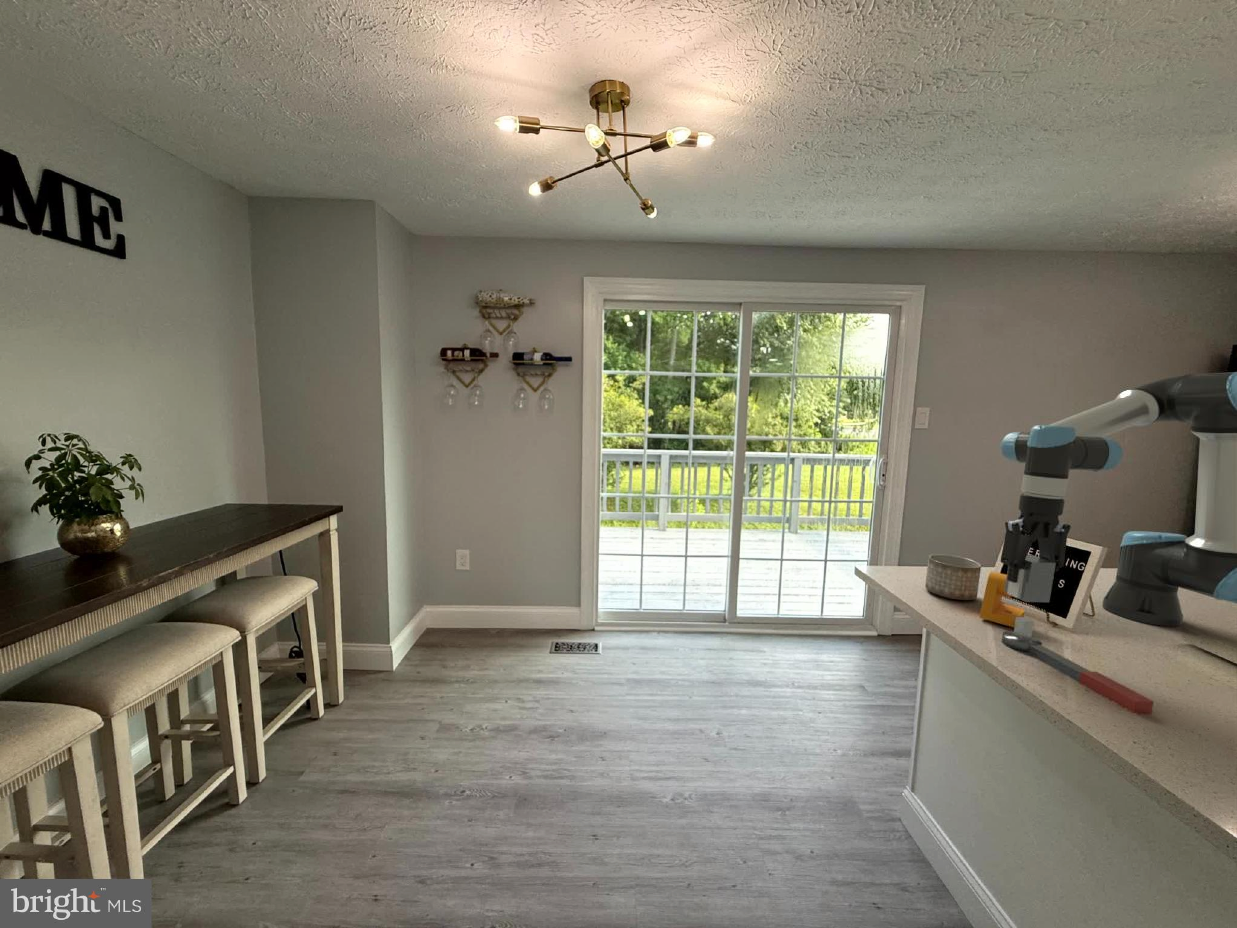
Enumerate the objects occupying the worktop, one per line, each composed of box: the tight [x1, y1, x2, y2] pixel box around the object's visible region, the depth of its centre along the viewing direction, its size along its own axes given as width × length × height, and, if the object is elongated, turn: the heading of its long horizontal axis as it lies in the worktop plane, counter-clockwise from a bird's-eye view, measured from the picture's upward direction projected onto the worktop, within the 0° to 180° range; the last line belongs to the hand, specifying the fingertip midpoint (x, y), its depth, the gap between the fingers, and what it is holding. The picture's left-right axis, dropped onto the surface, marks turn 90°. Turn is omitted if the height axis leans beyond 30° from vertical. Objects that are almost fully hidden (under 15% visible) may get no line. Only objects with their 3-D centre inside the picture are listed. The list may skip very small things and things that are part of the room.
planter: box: [924, 553, 982, 601], centre depth 144 cm, size 13×13×10 cm
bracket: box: [979, 571, 1026, 628], centre depth 127 cm, size 11×7×12 cm, turn 131°
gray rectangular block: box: [1004, 554, 1056, 603], centre depth 112 cm, size 6×6×9 cm
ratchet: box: [1001, 616, 1154, 715], centre depth 103 cm, size 28×7×6 cm, turn 4°
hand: (1026, 596), depth 112 cm, fingers closed on gray rectangular block, 6 cm apart
